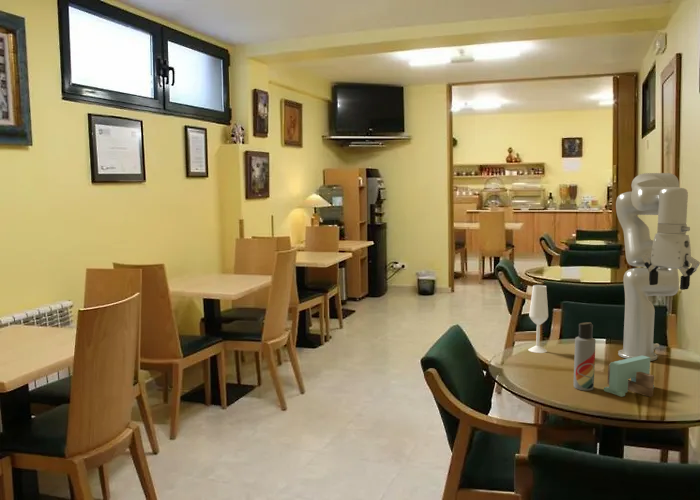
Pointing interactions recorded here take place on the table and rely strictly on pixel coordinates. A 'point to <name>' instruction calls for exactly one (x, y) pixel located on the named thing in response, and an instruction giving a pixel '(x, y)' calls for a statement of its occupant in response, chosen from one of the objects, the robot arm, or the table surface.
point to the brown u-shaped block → (640, 383)
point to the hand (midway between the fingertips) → (668, 286)
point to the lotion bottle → (584, 358)
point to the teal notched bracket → (626, 373)
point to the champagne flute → (538, 313)
